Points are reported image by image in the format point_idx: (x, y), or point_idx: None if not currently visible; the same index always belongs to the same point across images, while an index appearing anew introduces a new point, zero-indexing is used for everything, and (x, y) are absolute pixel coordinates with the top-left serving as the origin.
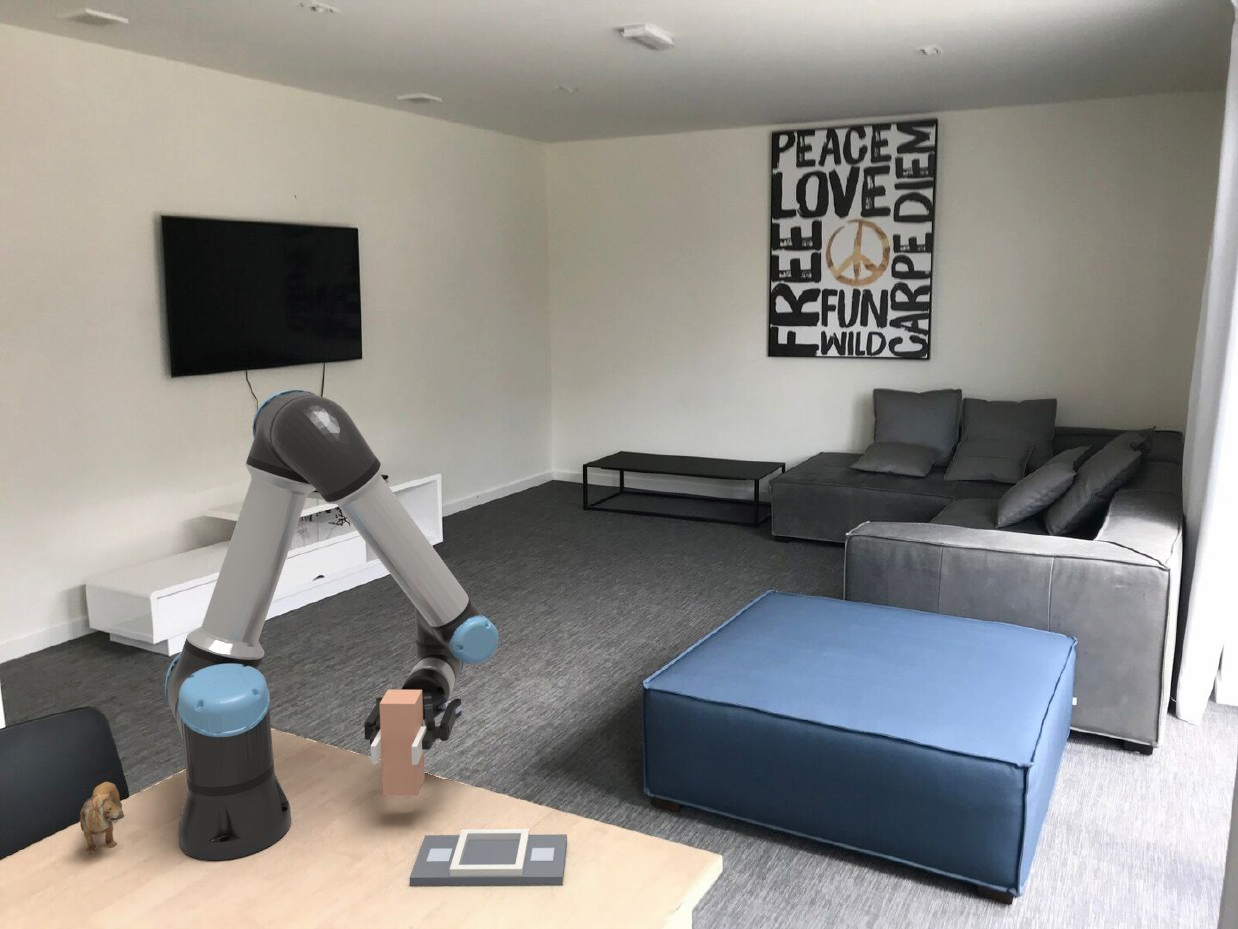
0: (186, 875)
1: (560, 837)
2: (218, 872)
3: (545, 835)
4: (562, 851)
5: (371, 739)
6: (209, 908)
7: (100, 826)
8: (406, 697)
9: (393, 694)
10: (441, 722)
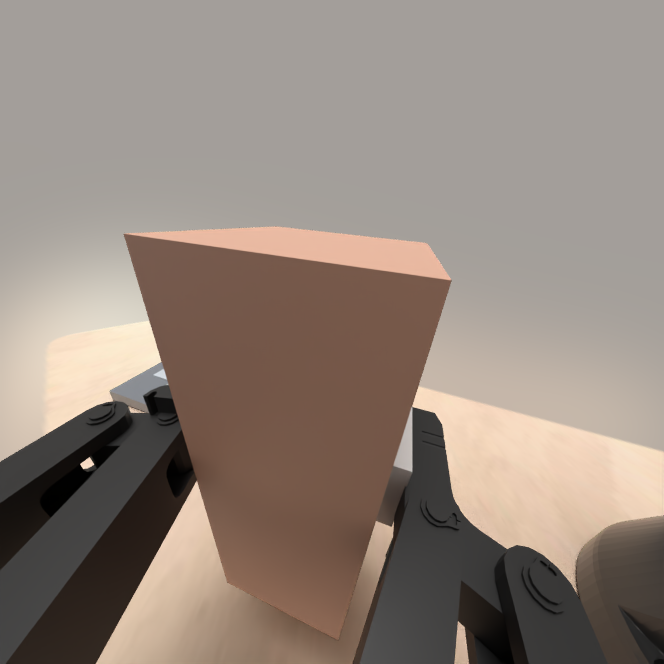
0: (651, 513)
1: (123, 388)
2: (599, 502)
3: (134, 397)
4: (151, 369)
5: (429, 412)
6: (532, 427)
7: None
8: (293, 233)
9: (370, 247)
10: (95, 430)
